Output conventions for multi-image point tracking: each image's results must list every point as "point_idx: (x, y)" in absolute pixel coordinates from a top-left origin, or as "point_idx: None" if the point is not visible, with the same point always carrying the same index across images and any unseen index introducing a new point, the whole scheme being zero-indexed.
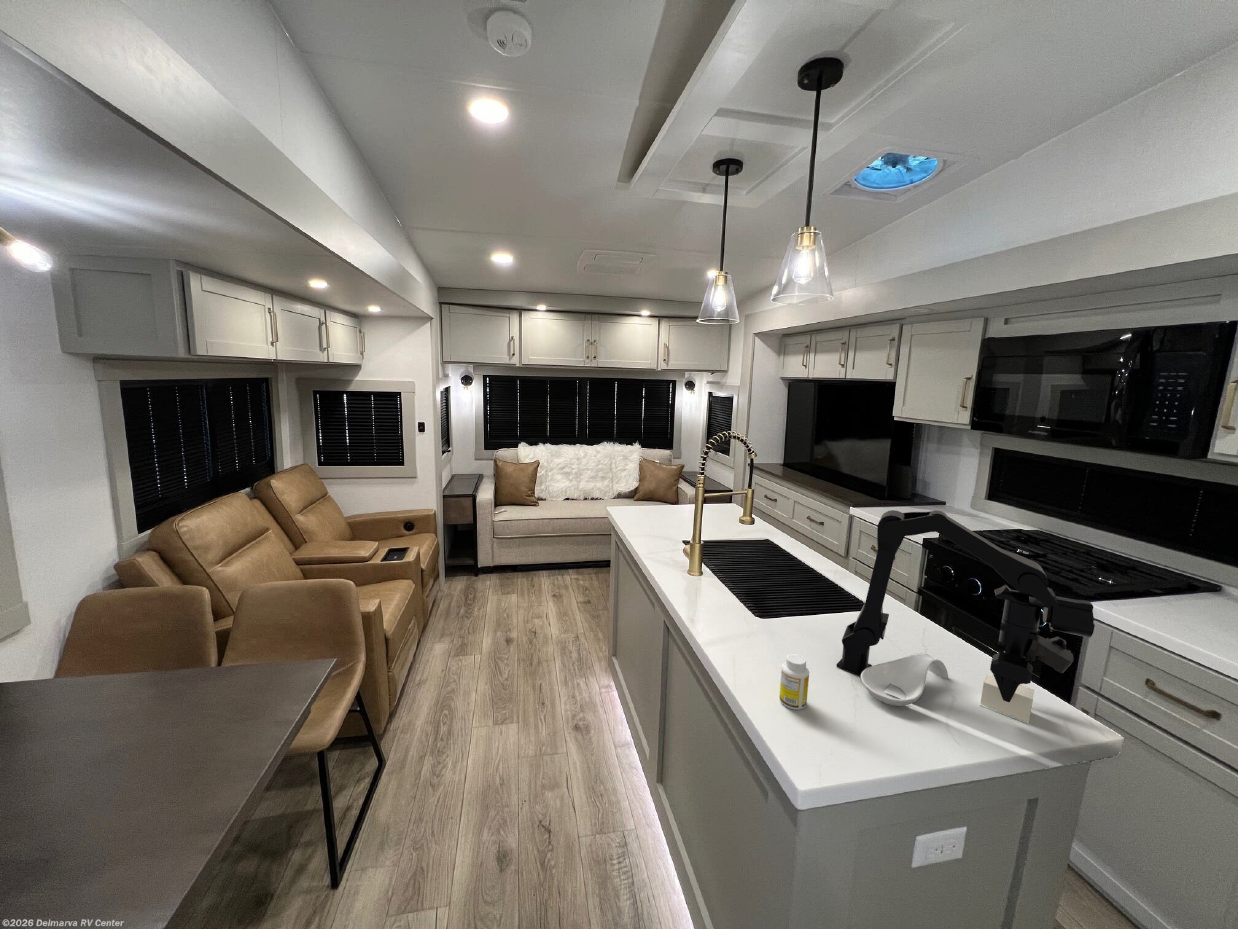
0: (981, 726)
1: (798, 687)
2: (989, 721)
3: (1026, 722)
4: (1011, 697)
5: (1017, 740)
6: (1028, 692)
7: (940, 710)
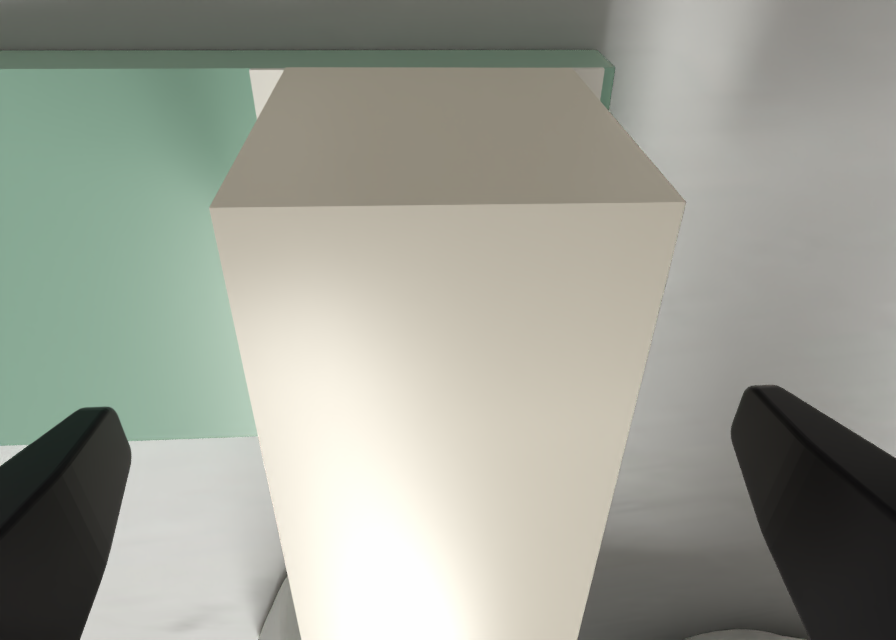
0: (781, 348)
1: None
2: (665, 318)
3: (599, 91)
4: (870, 447)
5: (865, 116)
6: (451, 283)
7: (714, 529)
